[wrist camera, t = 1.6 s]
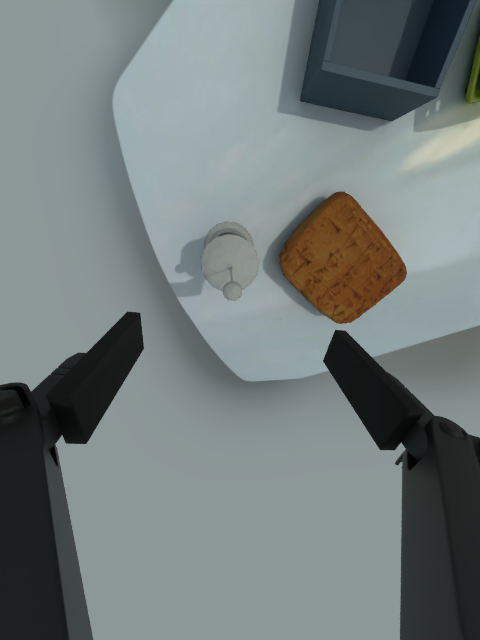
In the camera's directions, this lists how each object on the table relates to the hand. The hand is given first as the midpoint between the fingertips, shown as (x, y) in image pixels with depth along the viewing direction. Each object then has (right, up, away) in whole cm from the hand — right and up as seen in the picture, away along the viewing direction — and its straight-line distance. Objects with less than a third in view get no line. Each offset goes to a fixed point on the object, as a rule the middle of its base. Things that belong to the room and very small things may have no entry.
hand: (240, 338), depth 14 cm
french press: (-2, +15, +28) cm, 31 cm away
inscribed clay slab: (+19, +14, +29) cm, 38 cm away
